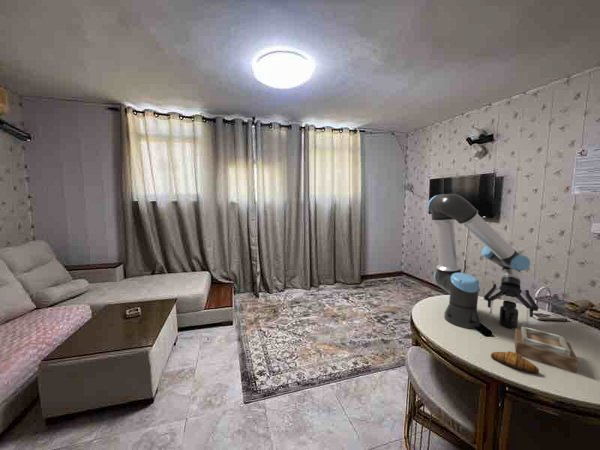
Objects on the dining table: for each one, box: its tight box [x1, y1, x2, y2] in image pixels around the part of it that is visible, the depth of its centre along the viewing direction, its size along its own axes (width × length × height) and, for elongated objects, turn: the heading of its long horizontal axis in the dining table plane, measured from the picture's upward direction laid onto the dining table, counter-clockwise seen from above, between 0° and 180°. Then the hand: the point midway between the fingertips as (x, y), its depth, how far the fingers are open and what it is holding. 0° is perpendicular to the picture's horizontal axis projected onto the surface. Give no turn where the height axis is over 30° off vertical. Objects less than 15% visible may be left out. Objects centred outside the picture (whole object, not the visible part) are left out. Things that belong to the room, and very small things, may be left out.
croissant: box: [490, 351, 540, 374], centre depth 89 cm, size 14×7×5 cm, turn 48°
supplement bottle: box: [498, 300, 519, 330], centre depth 117 cm, size 7×7×12 cm
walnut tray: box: [513, 325, 579, 374], centre depth 96 cm, size 16×14×7 cm
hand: (508, 318), depth 115 cm, fingers open, 13 cm apart
